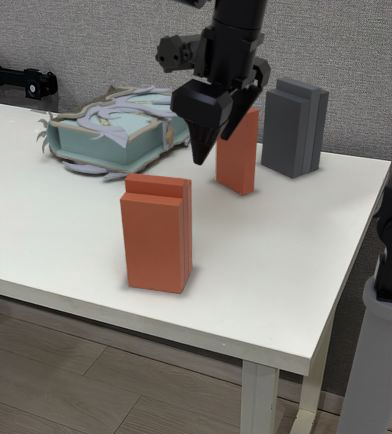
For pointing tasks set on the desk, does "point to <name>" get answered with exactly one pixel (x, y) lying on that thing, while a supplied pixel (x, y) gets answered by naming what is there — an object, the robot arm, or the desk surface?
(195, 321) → the desk surface
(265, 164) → the grey books
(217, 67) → the robot arm
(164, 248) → the terracotta books
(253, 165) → the terracotta book
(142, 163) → the ornate book
